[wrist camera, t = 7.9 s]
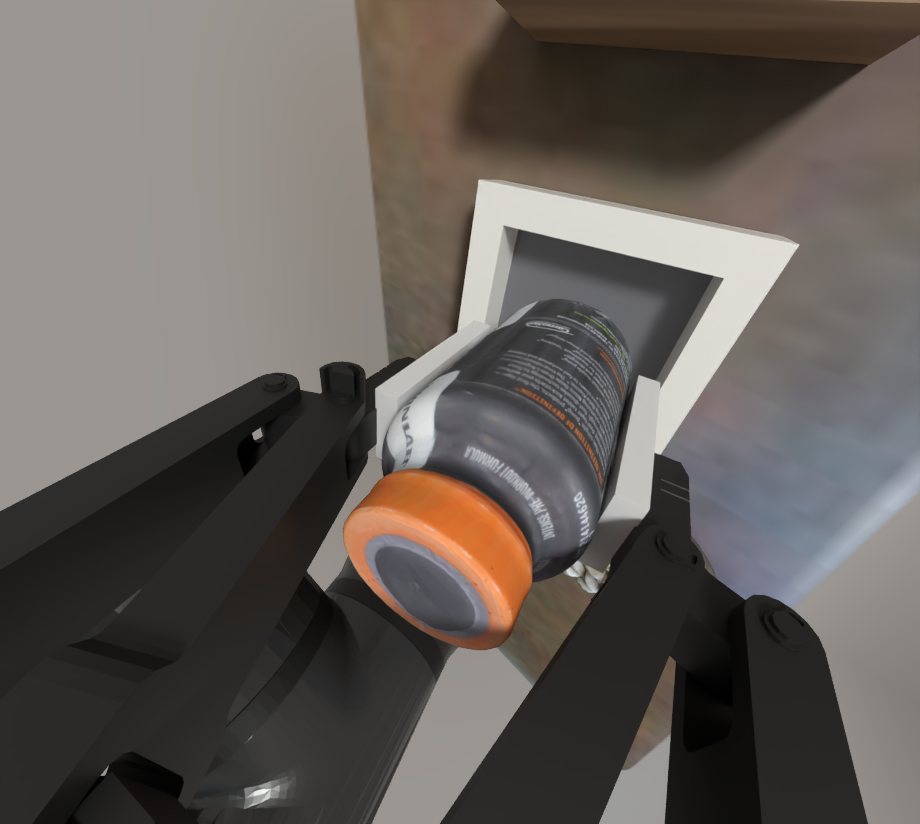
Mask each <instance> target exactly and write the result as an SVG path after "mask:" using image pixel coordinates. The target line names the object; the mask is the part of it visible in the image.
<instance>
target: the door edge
mask: <svg viewBox="0 0 920 824" xmlns="http://www.w3.org/2000/svg"><path fill="white" fill-rule="evenodd" d="M496 1H497V2H498V3H499V4H500V5H501V6H502V7H503V8H504V9H505V10H506V11H507V12H508V13H509V14H510V15H511V16H512V17H513V18H514V19H515V20H516V21H517V22H518V23H519V24H520V25H521V26H522V27H523V28H524V29H525V30H526V31H527V32H528V33H529V34H530V35H531V36H532V37H533V38H534V39H535V40H536V41H543V42H557V43H571V44H585V45H599V46H613V47H627V48H641V49H655V50H669V51H683V52H697V53H711V54H725V55H739V56H754V57H768V58H782V59H796V60H810V61H824V62H838V63H852V64H866V65H870V64H872V63H873V62H875V61H877V60H878V59H880V58H882V57H883V56H885V55H887V54H888V53H890V52H891V51H893V50H895V49H896V48H898V47H900V46H901V45H903V44H905V43H906V42H908V41H910V40H911V39H913V38H915V37H916V36H918V35H920V0H496Z"/></svg>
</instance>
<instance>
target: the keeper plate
mask: <svg viewBox="0 0 920 824" xmlns="http://www.w3.org/2000/svg"><path fill="white" fill-rule="evenodd" d="M798 246H799V244H797V243H795V242H793V241H791V240H789V239H787V238H785V237H783V236H779V235H774V234H769V233H764V232H759V231H754V230H749V229H744V228H739V227H734V226H729V225H724V224H719V223H714V222H709V221H704V220H699V219H694V218H689V217H684V216H679V215H674V214H669V213H664V212H659V211H654V210H649V209H644V208H639V207H634V206H629V205H624V204H619V203H614V202H609V201H604V200H599V199H594V198H589V197H584V196H579V195H574V194H569V193H564V192H559V191H554V190H548V189H543V188H538V187H533V186H528V185H523V184H518V183H513V182H508V181H503V180H479V183H478V190H477V197H476V204H475V211H474V218H473V225H472V232H471V239H470V246H469V253H468V260H467V267H466V274H465V281H464V288H463V295H462V302H461V309H460V316H459V323H458V330H457V332H458V331H460V330H461V329H462V328H464V327H465V326H467V325H468V324H470V323H471V322H473V321H474V320H476V321H479V322H482V323H485V324H488V325H491V328H490V333H491V332H492V331H493V330H495V329H496V328H497V327H498V326H499V325H500V324H502V323H503V322H504V321H505V320H506V319H508V318H509V317H510V316H511V315H512V314H514V313H515V312H516V311H518V310H520V309H521V308H523V307H525V306H527V305H529V304H532V303H534V302H537V301H541V300H546V299H567V300H573V301H578V302H581V303H584V304H586V305H588V306H590V307H592V308H595V309H598V310H599V311H601V312H602V313H603V314H604V315H605V316H607V317H608V318H609V319H610V320H611V321H612V322H613V323H614V324H615V325H616V327H617V328H618V329H619V330H620V332H621V333H622V335H623V336H624V338H625V340H626V343H627V346H628V349H629V352H630V356H631V360H632V374H631V381H630V386H629V391H628V395H629V393H630V391H631V389H632V387H633V385H634V383H635V381H636V379H637V377H638V375H640V376H643V377H646V378H649V379H652V380H655V381H658V382H660V394H659V405H658V417H657V429H656V441H655V453H657V454H661V453H662V451H663V450H664V448H665V447H666V445H667V444H668V442H669V441H670V439H671V438H672V436H673V435H674V433H675V432H676V430H677V429H678V427H679V426H680V424H681V423H682V421H683V420H684V418H685V417H686V415H687V414H688V412H689V411H690V409H691V408H692V406H693V405H694V403H695V402H696V400H697V398H698V397H699V395H700V394H701V392H702V391H703V389H704V388H705V386H706V385H707V383H708V382H709V380H710V379H711V377H712V376H713V374H714V373H715V371H716V370H717V368H718V367H719V365H720V364H721V362H722V361H723V359H724V358H725V356H726V355H727V353H728V352H729V350H730V349H731V347H732V346H733V344H734V343H735V341H736V340H737V338H738V337H739V335H740V334H741V332H742V331H743V329H744V328H745V326H746V325H747V323H748V322H749V320H750V319H751V317H752V316H753V314H754V313H755V311H756V310H757V308H758V307H759V305H760V304H761V302H762V300H763V299H764V297H765V296H766V294H767V293H768V291H769V290H770V288H771V287H772V285H773V284H774V282H775V281H776V279H777V278H778V276H779V275H780V273H781V272H782V270H783V269H784V267H785V266H786V264H787V263H788V261H789V260H790V258H791V257H792V255H793V254H794V252H795V251H796V249H797V248H798ZM490 333H489V334H490ZM627 397H628V396H627Z"/></svg>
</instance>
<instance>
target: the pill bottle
mask: <svg viewBox="0 0 920 824" xmlns="http://www.w3.org/2000/svg"><path fill="white" fill-rule="evenodd" d="M631 374H632V360H631V356H630V352H629V349H628V346H627V343H626V340H625V338H624V336H623V335H622V333H621V332H620V330H619V329H618V328H617V327H616V325H615V324H614V323H613V322H612V321H611V320H610V319H609V318H608V317H607V316H605V315H604V314H603V313H602V312H601V311H599V310H598V309H595V308H592V307H590V306H588V305H586V304H584V303H581V302H578V301H573V300H567V299H546V300H541V301H537V302H534V303H532V304H529V305H527V306H525V307H523V308H521V309H520V310H518V311H516V312H515V313H514V314H512V315H511V316H510V317H509V318H508V319H506V320H505V321H504V322H503V323H502V324H500V325H499V326H498V327H497V328H496V329H495V330H493V331H492V332H491V333H490V334H489V335H487V336H486V337H485V338H484V339H482V340H481V341H480V342H479V343H478V344H476V345H475V346H474V347H473V348H472V349H470V350H469V351H468V352H467V353H466V354H465V355H464V356H462V357H461V358H460V359H459V360H457V361H456V362H455V363H454V364H453V365H451V366H450V367H449V368H448V369H446V371H445V372H443V373H442V374H441V375H439V376H438V377H437V378H435V379H434V380H433V381H432V382H431V383H430V384H429V385H428V386H427V387H426V388H425V389H423V390H422V391H421V392H420V393H419V394H418V395H416V396H415V397H414V398H413V399H412V400H411V401H409V402H408V403H407V404H406V405H405V406H404V407H403V408H402V409H401V410H400V411H399V412H398V414H397V415H396V416H395V417H394V419H393V421H392V422H391V424H390V426H389V428H388V430H387V432H386V435H385V438H384V442H383V448H382V470H383V475H384V477H383V478H382V479H380V480H379V481H378V482H377V484H376V485H375V486H374V487H373V489H372V490H371V492H370V493H369V494H368V495H367V496H366V497H365V498H364V499H363V500H362V502H361V503H360V504H359V505H358V506H357V507H356V508H355V509H354V510H353V511H352V512H351V514H350V515H349V517H348V518H347V520H346V521H345V524H344V528H343V538H344V544H345V548H346V550H347V553H348V555H349V557H350V559H351V561H352V563H353V565H354V567H355V569H356V570H357V572H358V574H359V575H360V576H361V577H362V578H363V580H364V581H365V582H366V583H367V585H368V586H369V587H370V588H371V589H372V590H373V592H374V593H375V594H377V595H378V596H379V597H380V598H381V599H382V600H383V601H384V602H385V603H386V604H387V605H388V606H389V607H390V608H391V609H392V610H394V611H395V612H396V613H398V614H399V615H400V616H401V617H403V618H404V619H406V620H407V621H408V622H409V623H411V624H412V625H414V626H415V627H417V628H418V629H420V630H422V631H423V632H425V633H427V634H429V635H431V636H433V637H435V638H437V639H439V640H442V641H444V642H447V643H449V644H452V645H454V646H457V647H462V648H467V649H473V650H487V649H492V648H496V647H498V646H500V645H502V644H503V643H504V642H505V641H506V640H507V639H508V638H509V636H510V634H511V633H512V630H513V627H514V625H515V622H516V620H517V617H518V615H519V612H520V609H521V607H522V604H523V602H524V600H525V599H526V597H527V595H528V593H529V591H530V588H531V585H532V582H538V581H542V580H545V579H548V578H551V577H554V576H556V575H558V574H560V573H562V572H564V571H565V570H567V569H569V568H570V567H571V566H572V565H574V564H575V563H576V562H577V561H578V559H579V558H580V557H581V556H582V555H583V553H584V552H585V551H586V549H587V548H588V546H589V544H590V542H591V540H592V538H593V535H594V532H595V529H596V526H597V520H598V518H599V514H600V509H601V505H602V501H603V498H604V495H605V491H606V487H607V483H608V479H609V476H610V473H611V469H612V464H613V460H614V455H615V450H616V446H617V440H618V436H619V431H620V427H621V423H622V417H623V413H624V410H625V404H626V400H627V396H628V391H629V386H630V381H631Z"/></svg>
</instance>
